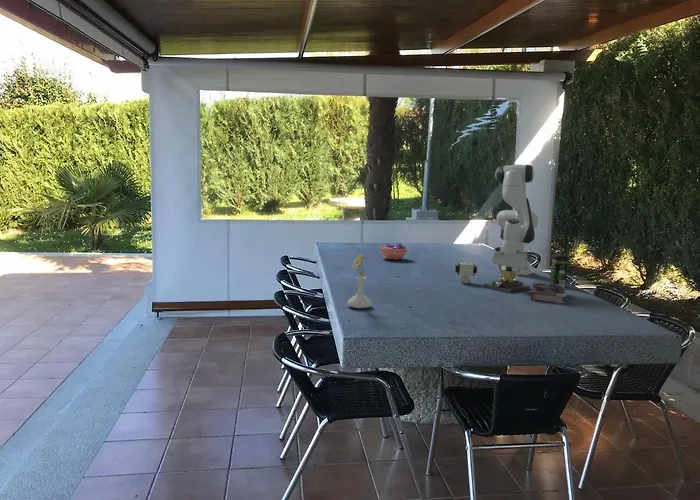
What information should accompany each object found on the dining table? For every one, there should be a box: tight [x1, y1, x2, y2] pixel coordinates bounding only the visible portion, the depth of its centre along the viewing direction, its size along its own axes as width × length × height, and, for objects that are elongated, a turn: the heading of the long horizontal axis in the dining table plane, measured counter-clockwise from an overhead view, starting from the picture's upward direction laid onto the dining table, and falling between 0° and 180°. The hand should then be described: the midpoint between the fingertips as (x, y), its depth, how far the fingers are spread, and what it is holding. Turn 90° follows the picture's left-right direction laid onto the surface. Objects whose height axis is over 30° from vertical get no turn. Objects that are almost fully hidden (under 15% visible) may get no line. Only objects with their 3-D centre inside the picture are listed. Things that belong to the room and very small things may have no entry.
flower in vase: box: [346, 253, 373, 309], centre depth 260 cm, size 13×11×25 cm
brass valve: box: [500, 266, 516, 284], centre depth 315 cm, size 9×5×11 cm, turn 131°
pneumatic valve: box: [454, 261, 478, 284], centre depth 326 cm, size 6×12×12 cm, turn 87°
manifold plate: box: [483, 277, 532, 294], centre depth 316 cm, size 20×16×4 cm
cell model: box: [379, 242, 410, 261], centre depth 392 cm, size 17×20×11 cm
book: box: [530, 282, 567, 304], centre depth 299 cm, size 25×16×5 cm, turn 161°
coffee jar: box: [549, 252, 569, 287], centre depth 327 cm, size 10×8×19 cm
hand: (508, 274), depth 315 cm, fingers open, 8 cm apart
